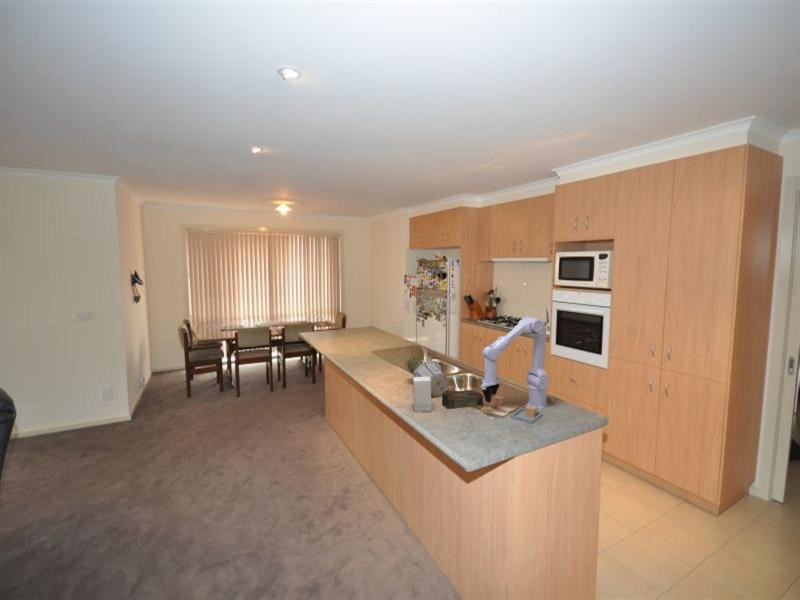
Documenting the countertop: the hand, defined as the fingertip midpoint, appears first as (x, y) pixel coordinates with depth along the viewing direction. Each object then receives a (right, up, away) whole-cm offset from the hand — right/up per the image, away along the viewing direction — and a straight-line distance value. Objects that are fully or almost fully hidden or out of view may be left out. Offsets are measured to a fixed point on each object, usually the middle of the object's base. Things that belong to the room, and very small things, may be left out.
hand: (490, 400), depth 183 cm
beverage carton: (-12, -5, +9) cm, 16 cm away
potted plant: (-29, -3, +32) cm, 43 cm away
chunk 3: (+17, -6, -5) cm, 19 cm away
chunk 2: (+5, -4, +8) cm, 10 cm away
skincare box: (-32, -6, +3) cm, 33 cm away
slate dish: (+15, -6, -6) cm, 17 cm away
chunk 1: (0, -1, 0) cm, 1 cm away
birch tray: (+5, -5, +2) cm, 7 cm away
